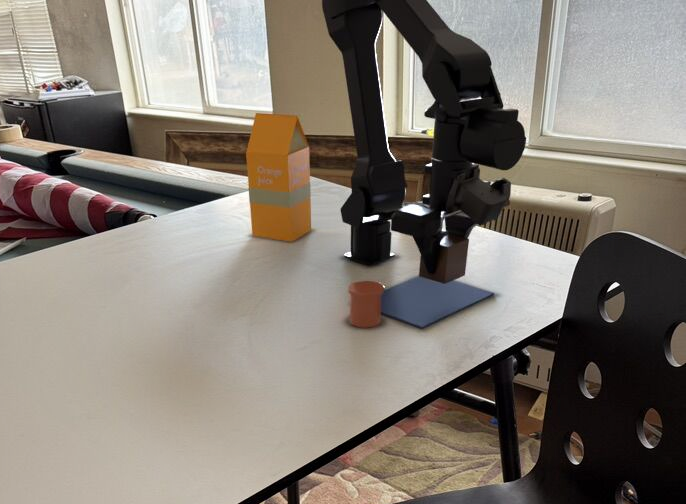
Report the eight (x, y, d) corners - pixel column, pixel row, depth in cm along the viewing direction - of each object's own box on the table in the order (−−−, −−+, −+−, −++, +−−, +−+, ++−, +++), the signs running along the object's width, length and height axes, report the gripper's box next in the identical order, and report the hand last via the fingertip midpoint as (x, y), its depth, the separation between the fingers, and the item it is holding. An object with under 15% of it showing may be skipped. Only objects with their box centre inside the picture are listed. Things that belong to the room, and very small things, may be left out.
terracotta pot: (340, 321, 99) (340, 287, 96) (364, 311, 102) (365, 278, 99) (365, 331, 96) (366, 296, 93) (390, 321, 99) (391, 286, 96)
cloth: (354, 304, 104) (354, 302, 104) (427, 274, 113) (427, 272, 113) (421, 329, 96) (421, 327, 96) (494, 294, 105) (494, 293, 105)
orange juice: (291, 241, 128) (286, 119, 115) (251, 235, 132) (242, 116, 119) (312, 230, 133) (309, 111, 121) (273, 224, 137) (266, 109, 124)
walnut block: (418, 276, 107) (421, 239, 103) (439, 267, 109) (442, 231, 106) (444, 284, 104) (448, 247, 100) (465, 275, 106) (469, 238, 103)
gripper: (457, 179, 87) (445, 300, 96) (541, 153, 96) (522, 265, 106) (391, 166, 93) (386, 280, 103) (475, 143, 103) (463, 249, 112)
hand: (442, 269), depth 106 cm, fingers closed on walnut block, 5 cm apart
